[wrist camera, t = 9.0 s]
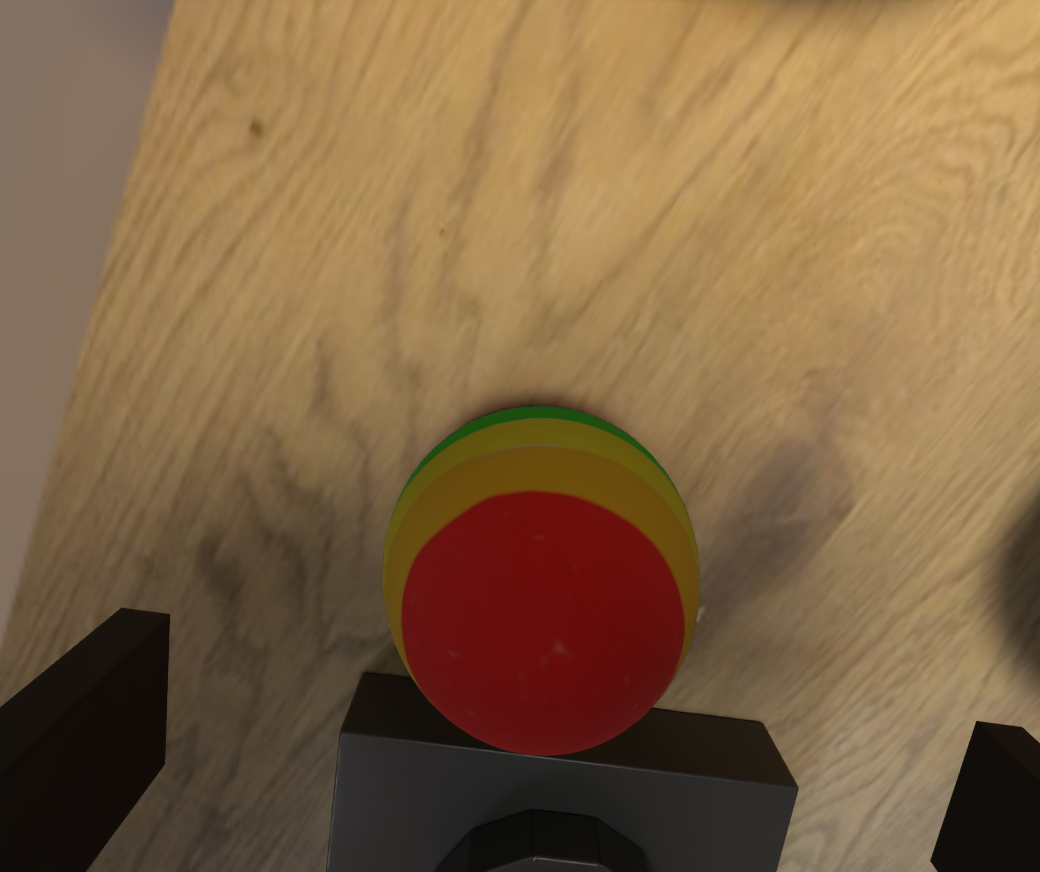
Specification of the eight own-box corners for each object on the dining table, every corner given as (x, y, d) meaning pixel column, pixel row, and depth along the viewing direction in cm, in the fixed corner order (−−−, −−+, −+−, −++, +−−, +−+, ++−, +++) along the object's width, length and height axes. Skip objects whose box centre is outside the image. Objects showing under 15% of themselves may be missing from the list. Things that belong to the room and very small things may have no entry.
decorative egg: (702, 438, 22) (851, 568, 12) (605, 658, 24) (668, 926, 14) (457, 349, 21) (407, 410, 12) (376, 581, 23) (272, 806, 13)
